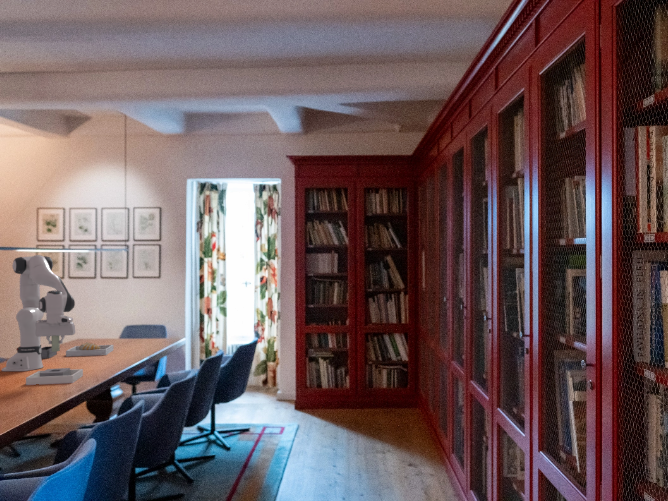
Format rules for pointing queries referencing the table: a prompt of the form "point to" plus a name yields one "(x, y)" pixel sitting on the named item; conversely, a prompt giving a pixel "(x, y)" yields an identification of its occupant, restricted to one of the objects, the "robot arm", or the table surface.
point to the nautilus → (89, 346)
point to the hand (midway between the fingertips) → (55, 343)
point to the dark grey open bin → (47, 352)
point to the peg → (55, 343)
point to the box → (54, 376)
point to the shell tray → (89, 351)
